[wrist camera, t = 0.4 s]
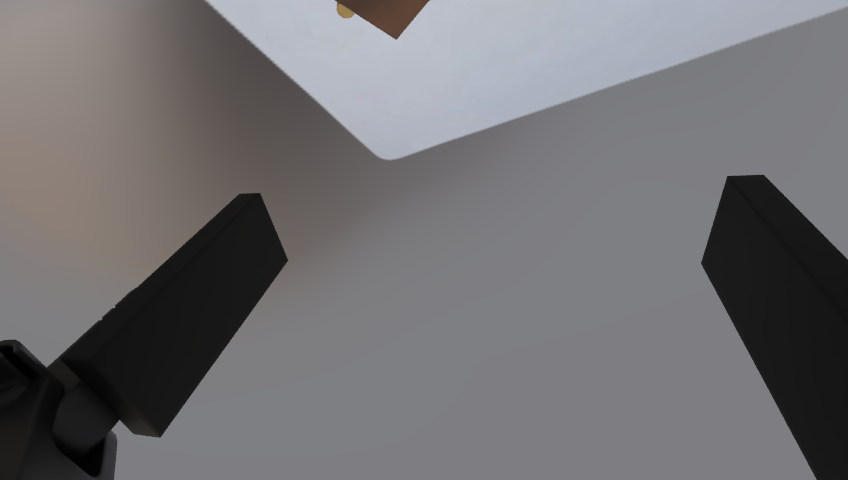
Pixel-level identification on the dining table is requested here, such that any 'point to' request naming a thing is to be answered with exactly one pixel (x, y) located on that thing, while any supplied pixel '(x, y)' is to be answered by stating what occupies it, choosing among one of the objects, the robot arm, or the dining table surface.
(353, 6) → the cabinet
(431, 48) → the dining table surface
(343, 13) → the glass door
